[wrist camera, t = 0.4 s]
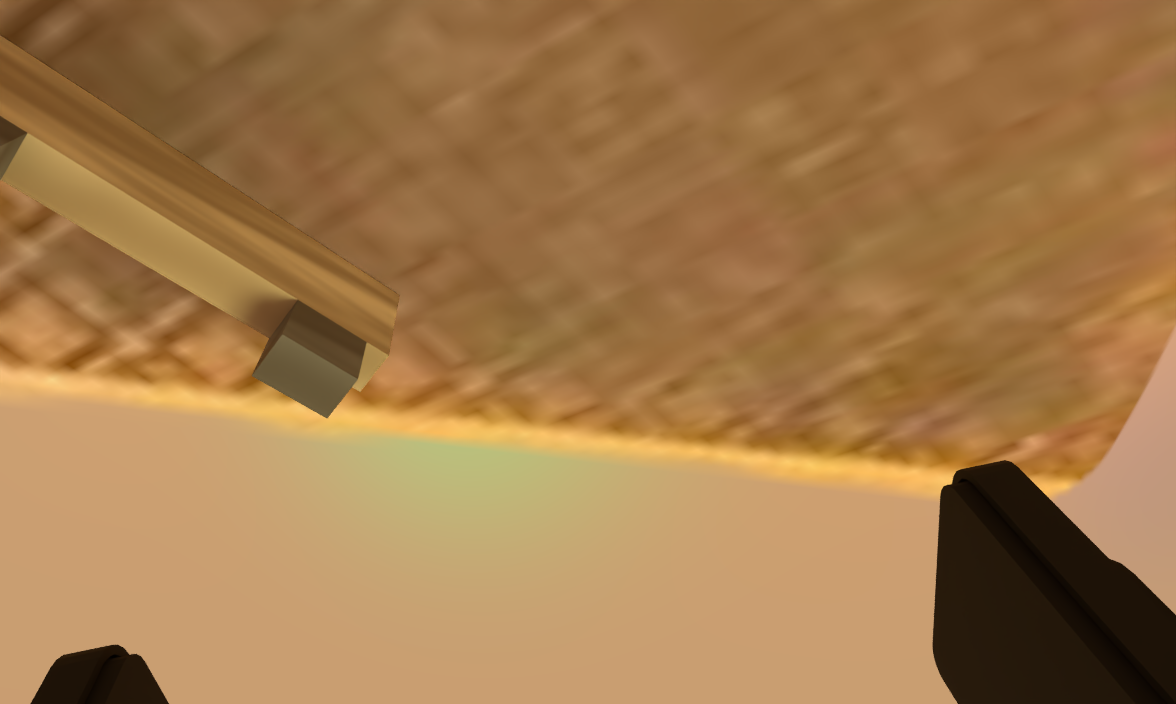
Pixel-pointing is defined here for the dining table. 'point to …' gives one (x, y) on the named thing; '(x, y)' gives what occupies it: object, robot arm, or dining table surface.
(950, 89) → the dining table surface
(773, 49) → the dining table surface
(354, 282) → the notched board
